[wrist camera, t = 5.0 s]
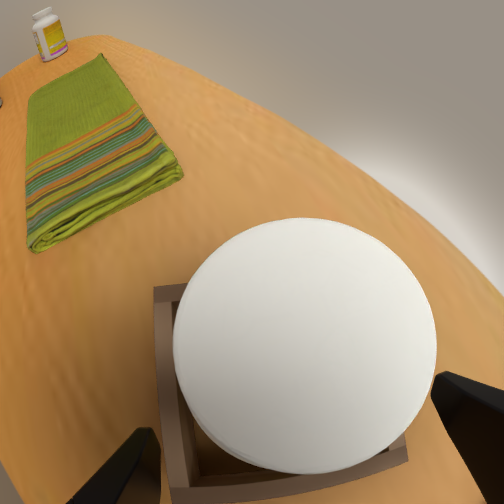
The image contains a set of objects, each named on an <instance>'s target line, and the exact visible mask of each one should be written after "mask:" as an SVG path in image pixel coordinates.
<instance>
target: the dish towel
mask: <svg viewBox="0 0 504 504" xmlns="http://www.w3.org/2000/svg"><path fill="white" fill-rule="evenodd" d="M183 176H184V174H183V172H182V168H181V166H180V165H179V164H178V161H177V159H176V157H175V156H174V153H173V151H172V150H171V149H169V147H168V146H167V145H166V144H165V142H164V141H163V140H162V139H161V137H160V136H159V134H158V133H157V132H156V130H155V129H154V127H153V125H152V124H151V123H150V122H149V120H148V119H147V117H146V116H145V114H144V113H143V111H142V110H141V108H140V106H139V105H138V103H137V102H136V101H135V100H134V98H133V96H132V95H131V93H130V92H129V90H128V89H127V88H126V87H125V85H124V83H123V82H122V80H121V79H120V78H119V76H118V75H117V73H116V72H115V71H114V70H113V68H112V67H111V65H110V64H109V63H108V61H107V59H105V58H104V56H103V54H102V53H100V54H99V55H98V56H97V57H96V58H95V59H93V60H92V61H90V62H88V63H86V64H84V65H82V66H80V67H79V68H77V69H75V70H73V71H72V72H69V73H67V74H65V75H63V76H61V77H59V78H57V79H55V80H53V81H52V82H50V83H48V84H46V85H45V86H43V87H41V88H40V89H38V90H37V91H36V92H34V93H33V94H32V95H31V96H30V98H29V101H28V116H27V141H26V181H25V186H26V219H27V248H28V249H29V250H30V251H32V252H33V253H36V254H38V253H40V252H42V251H45V250H47V249H48V248H50V247H52V246H53V245H56V244H57V243H59V242H61V241H63V240H65V239H67V238H68V237H70V236H72V235H74V234H76V233H77V232H79V231H81V230H83V229H85V228H87V227H89V226H91V225H93V224H94V223H96V222H98V221H100V220H103V219H104V218H106V217H107V216H109V215H111V214H113V213H115V212H117V211H120V210H122V209H124V208H126V207H128V206H130V205H132V204H134V203H136V202H138V201H140V200H141V199H143V198H145V197H147V196H149V195H151V194H153V193H155V192H158V191H160V190H162V189H164V188H166V187H168V186H170V185H172V184H174V183H175V182H177V181H179V180H180V179H181V178H182V177H183Z"/></svg>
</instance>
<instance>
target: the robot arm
mask: <svg viewBox="0 0 504 504" xmlns="http://www.w3.org/2000/svg"><path fill="white" fill-rule="evenodd" d="M431 399H432V401H433V404H434V406H435V408H436V410H437V412H438V414H439V416H440V418H441V421H442V423H443V425H444V427H445V429H446V431H447V433H448V435H449V437H450V438H451V440H452V442H453V443H454V445H455V447H456V448H457V450H458V452H459V453H460V455H461V457H462V459H463V460H464V462H465V464H466V466H467V467H468V469H469V471H470V473H471V475H472V476H473V478H474V480H475V482H476V484H477V485H478V487H479V489H480V491H481V493H482V495H483V497H484V499H485V500H486V502H487V504H504V390H501V389H498V388H495V387H492V386H489V385H486V384H483V383H480V382H477V381H474V380H471V379H468V378H465V377H463V376H460V375H457V374H454V373H451V372H449V371H444V372H442V373H439V374H437V375H436V376H435V379H434V383H433V386H432V390H431ZM160 495H161V449H160V444H159V442H158V440H157V438H156V435H155V433H154V431H153V429H152V428H150V427H139V428H137V429H136V430H135V431H134V432H133V433H132V434H131V435H130V437H129V438H128V439H127V440H126V441H125V442H124V443H123V444H122V445H121V446H120V447H119V448H118V450H117V451H116V452H115V453H114V454H113V455H112V456H111V457H110V458H109V459H108V460H107V461H106V462H105V463H104V464H103V465H102V467H101V468H100V469H99V470H98V471H97V472H96V473H95V474H94V475H93V476H92V477H91V478H90V479H89V480H88V481H87V482H86V483H85V484H84V485H83V486H82V487H81V489H80V490H79V491H78V492H77V493H76V494H75V495H74V496H73V499H72V498H71V499H70V500H69V501H68V502H67V503H66V504H160Z"/></svg>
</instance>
